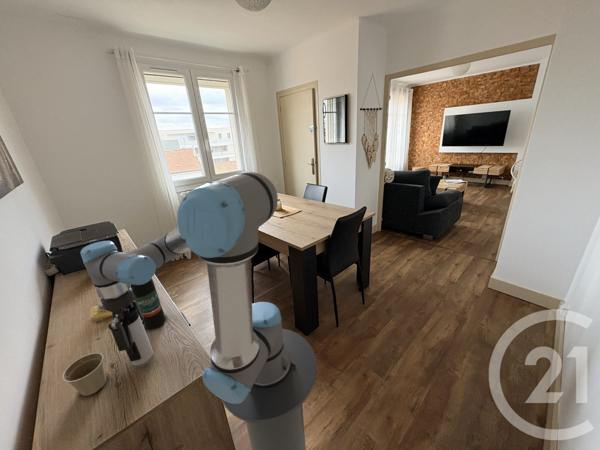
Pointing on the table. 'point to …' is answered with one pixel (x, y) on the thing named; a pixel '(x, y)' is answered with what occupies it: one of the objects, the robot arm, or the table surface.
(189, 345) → the table surface
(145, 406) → the table surface
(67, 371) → the flower pot
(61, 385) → the table surface
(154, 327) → the wine bottle
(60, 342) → the table surface
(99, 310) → the cake
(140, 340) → the travel mug
